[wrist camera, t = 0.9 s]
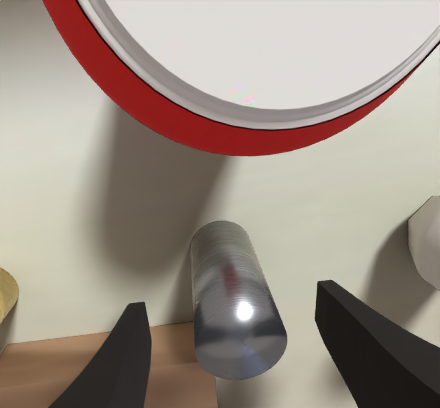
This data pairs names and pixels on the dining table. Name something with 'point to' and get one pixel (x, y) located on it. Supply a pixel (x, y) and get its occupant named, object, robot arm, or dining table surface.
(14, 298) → the short pin
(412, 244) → the salt shaker
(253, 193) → the dining table surface
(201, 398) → the hole block
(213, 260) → the long pin
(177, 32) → the beverage can
